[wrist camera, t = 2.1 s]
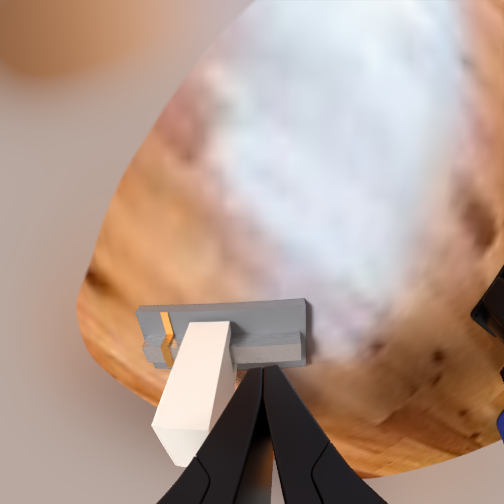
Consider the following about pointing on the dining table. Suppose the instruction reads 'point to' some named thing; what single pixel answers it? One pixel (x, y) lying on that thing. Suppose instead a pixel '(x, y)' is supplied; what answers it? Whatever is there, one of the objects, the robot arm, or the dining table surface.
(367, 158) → the dining table surface
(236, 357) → the light grey bar
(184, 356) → the white cardboard box
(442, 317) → the dining table surface
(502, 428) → the mug
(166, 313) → the board
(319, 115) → the dining table surface
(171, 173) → the dining table surface
